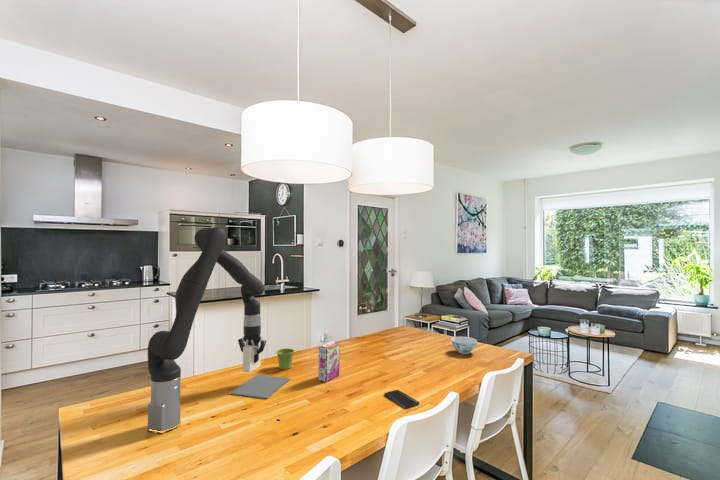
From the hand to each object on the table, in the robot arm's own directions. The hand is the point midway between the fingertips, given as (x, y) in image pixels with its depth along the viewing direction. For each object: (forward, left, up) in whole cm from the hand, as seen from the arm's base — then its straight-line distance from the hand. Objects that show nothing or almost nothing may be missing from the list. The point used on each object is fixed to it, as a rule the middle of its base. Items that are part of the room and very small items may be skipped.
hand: (252, 361), depth 159 cm
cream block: (0, 0, -3) cm, 3 cm away
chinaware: (+78, -95, -11) cm, 123 cm away
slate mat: (0, -5, -11) cm, 12 cm away
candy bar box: (+18, -31, -11) cm, 38 cm away
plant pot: (+25, -4, -11) cm, 28 cm away
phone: (+4, -68, -11) cm, 69 cm away
